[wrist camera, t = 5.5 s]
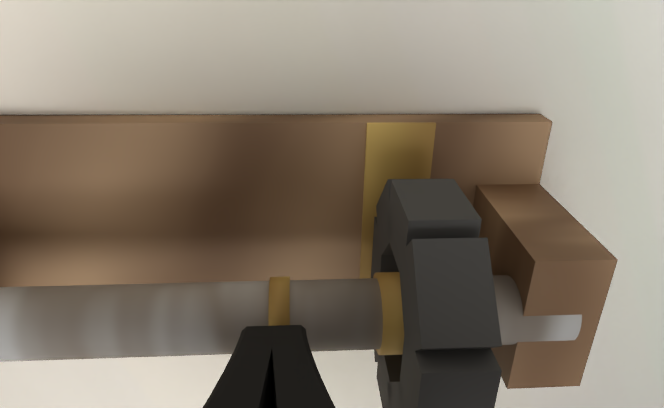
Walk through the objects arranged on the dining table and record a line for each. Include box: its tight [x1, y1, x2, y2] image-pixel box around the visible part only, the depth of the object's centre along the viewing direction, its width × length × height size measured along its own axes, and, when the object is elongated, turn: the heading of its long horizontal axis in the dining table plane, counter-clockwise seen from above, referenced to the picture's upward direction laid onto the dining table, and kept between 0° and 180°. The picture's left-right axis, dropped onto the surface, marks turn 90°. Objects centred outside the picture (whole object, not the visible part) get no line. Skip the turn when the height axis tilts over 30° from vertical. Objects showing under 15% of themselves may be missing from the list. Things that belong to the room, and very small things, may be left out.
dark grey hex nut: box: [371, 178, 502, 408], centre depth 14 cm, size 2×7×7 cm, turn 179°
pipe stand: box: [0, 114, 617, 389], centre depth 15 cm, size 19×8×6 cm, turn 89°
